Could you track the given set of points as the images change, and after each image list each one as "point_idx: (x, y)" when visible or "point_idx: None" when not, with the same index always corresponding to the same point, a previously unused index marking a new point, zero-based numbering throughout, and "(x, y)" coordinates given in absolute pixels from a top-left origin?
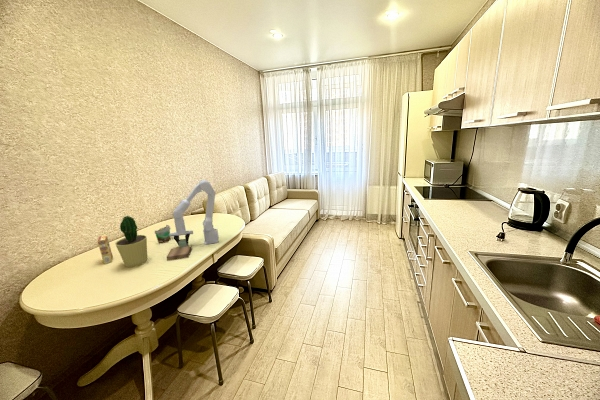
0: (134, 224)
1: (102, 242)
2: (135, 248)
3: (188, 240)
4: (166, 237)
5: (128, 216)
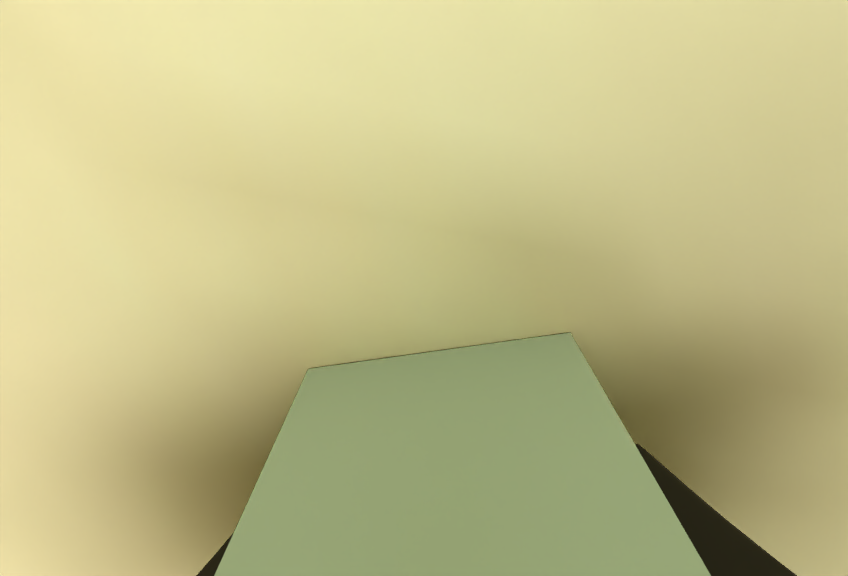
0: None
1: None
2: None
3: (760, 560)
4: None
5: None
